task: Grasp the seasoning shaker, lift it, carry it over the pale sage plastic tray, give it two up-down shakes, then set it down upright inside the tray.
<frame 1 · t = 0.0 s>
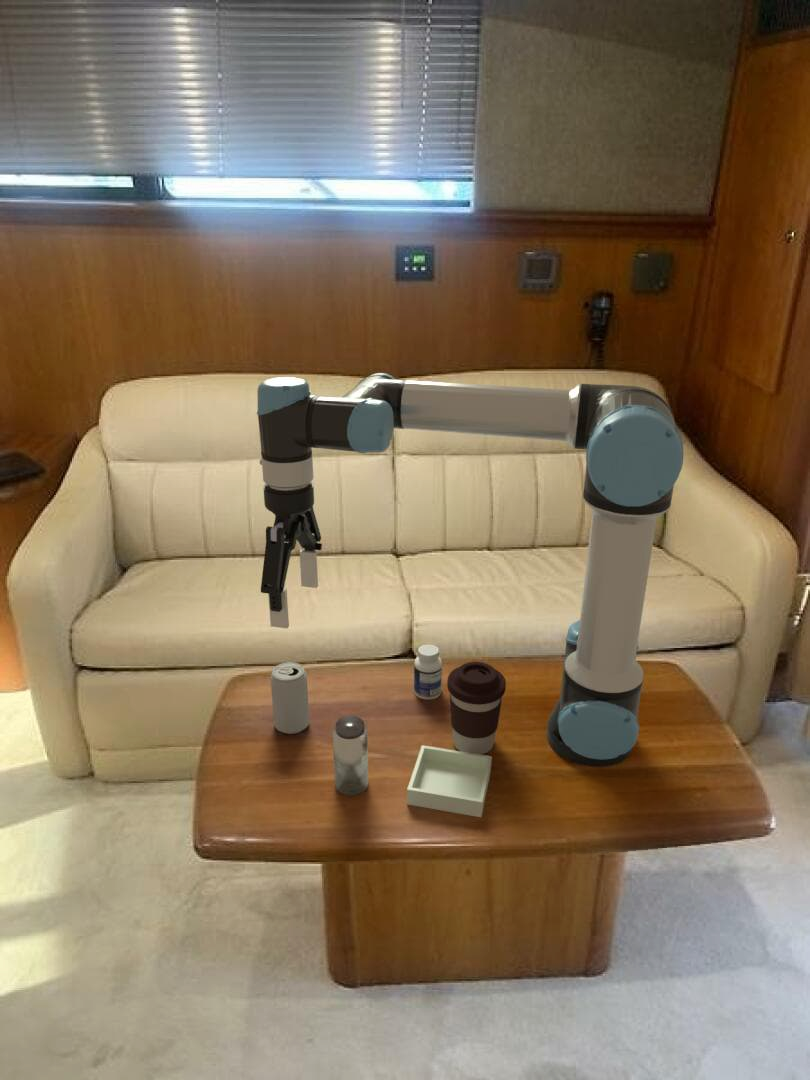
hand: (295, 605, 127), 28 cm above the table, fingers open, 13 cm apart
shaker: (351, 783, 130), on the table
coffee cup: (473, 743, 140), on the table
beverage can: (292, 726, 144), on the table
pill bottle: (427, 693, 153), on the table
tray: (450, 787, 129), on the table
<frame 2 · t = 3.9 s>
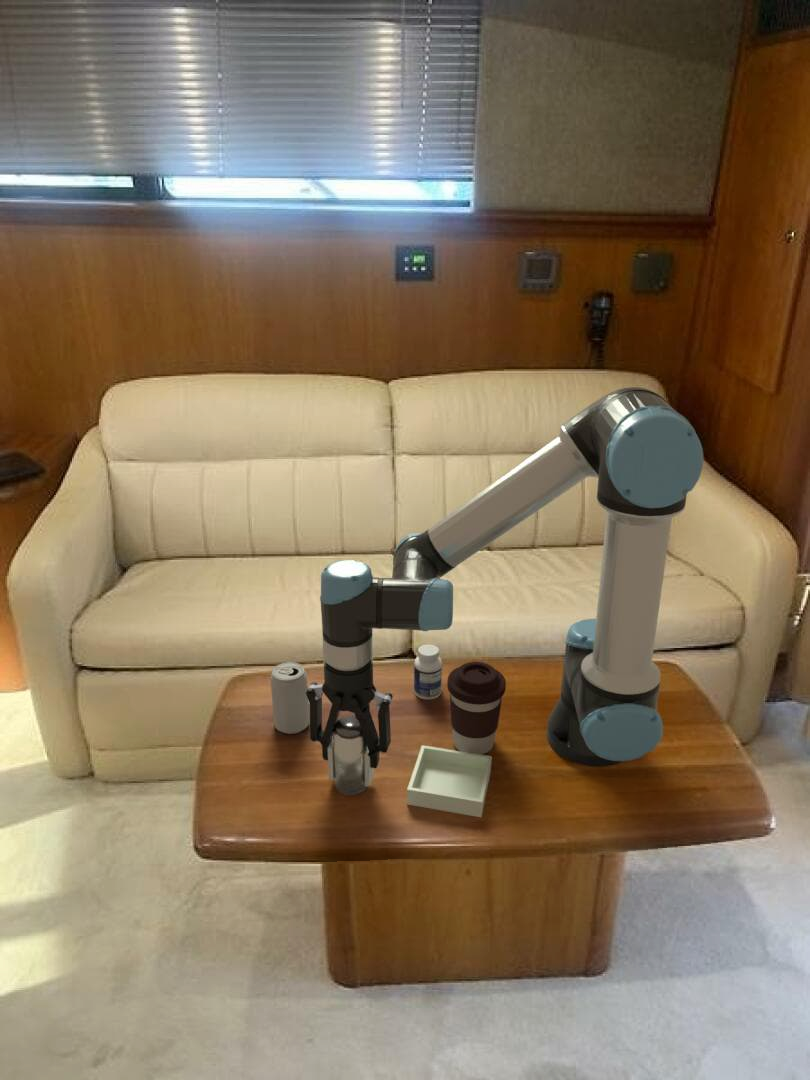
hand: (351, 777, 129), 1 cm above the table, fingers closed on shaker, 5 cm apart
shaker: (351, 783, 130), on the table, touching gripper
everything else where it was.
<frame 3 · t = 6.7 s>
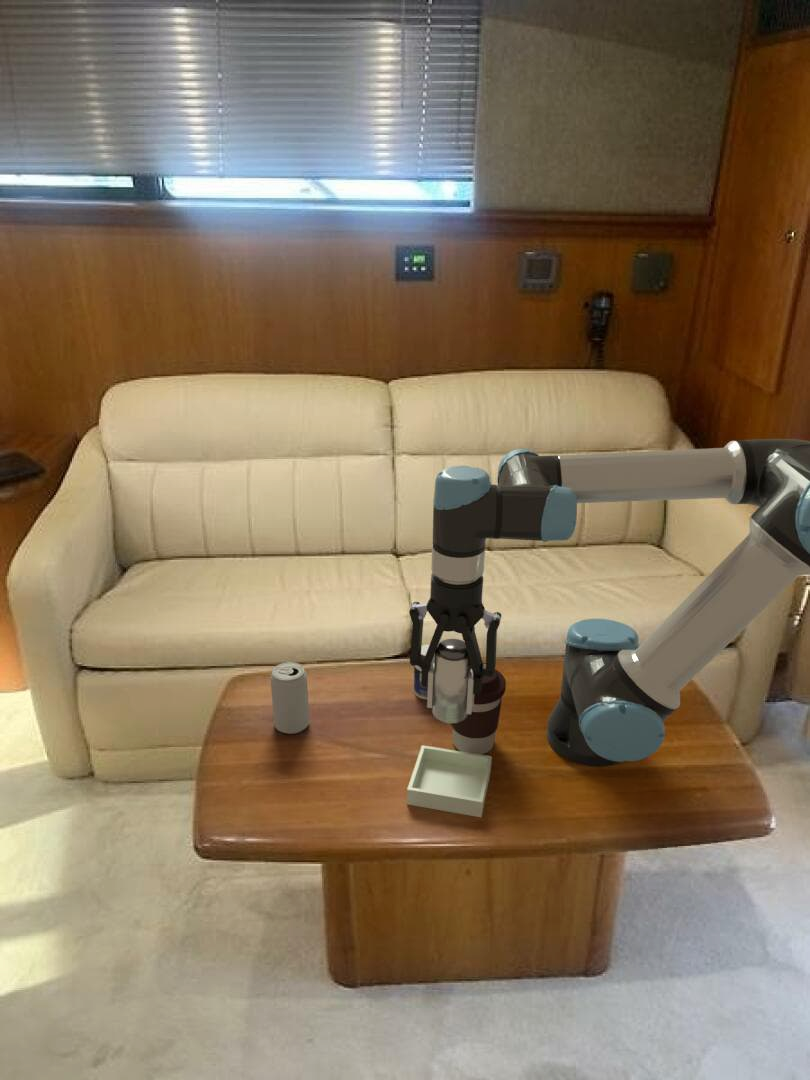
hand: (450, 705, 123), 16 cm above the table, fingers closed on shaker, 5 cm apart
shaker: (450, 712, 123), point 15 cm above the table, touching gripper
everything else where it was.
when the fingers open (3 cm above the table, at t = 9.8 s): shaker stays where it is, resting on tray.
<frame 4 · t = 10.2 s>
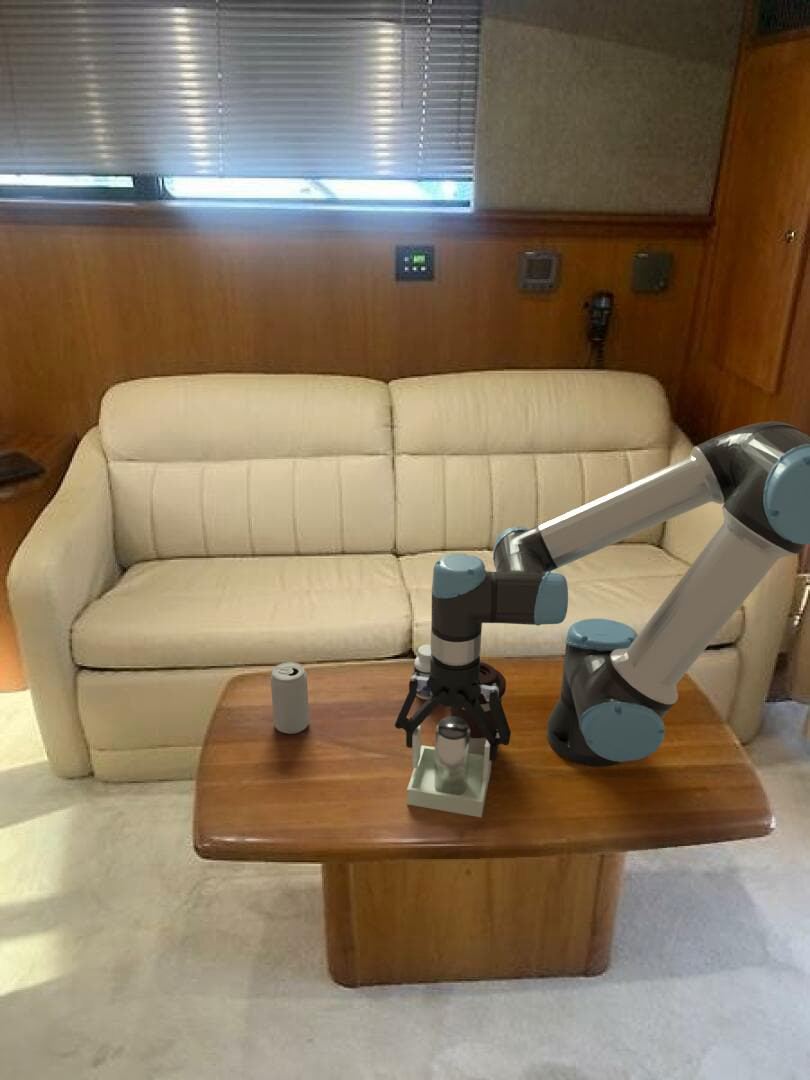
hand: (450, 768, 128), 4 cm above the table, fingers open, 11 cm apart
shaker: (450, 784, 129), point 1 cm above the table, touching tray
everything else where it was.
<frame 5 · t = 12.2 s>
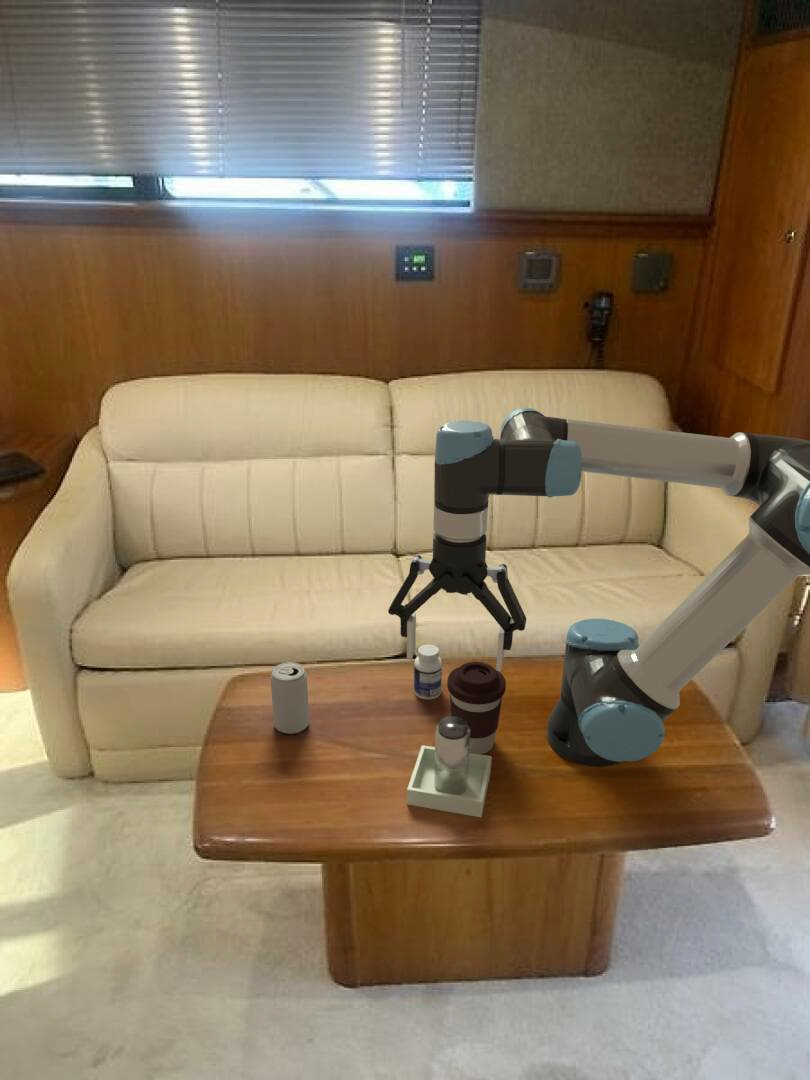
hand: (454, 660, 119), 25 cm above the table, fingers open, 13 cm apart
nothing on the table moved.
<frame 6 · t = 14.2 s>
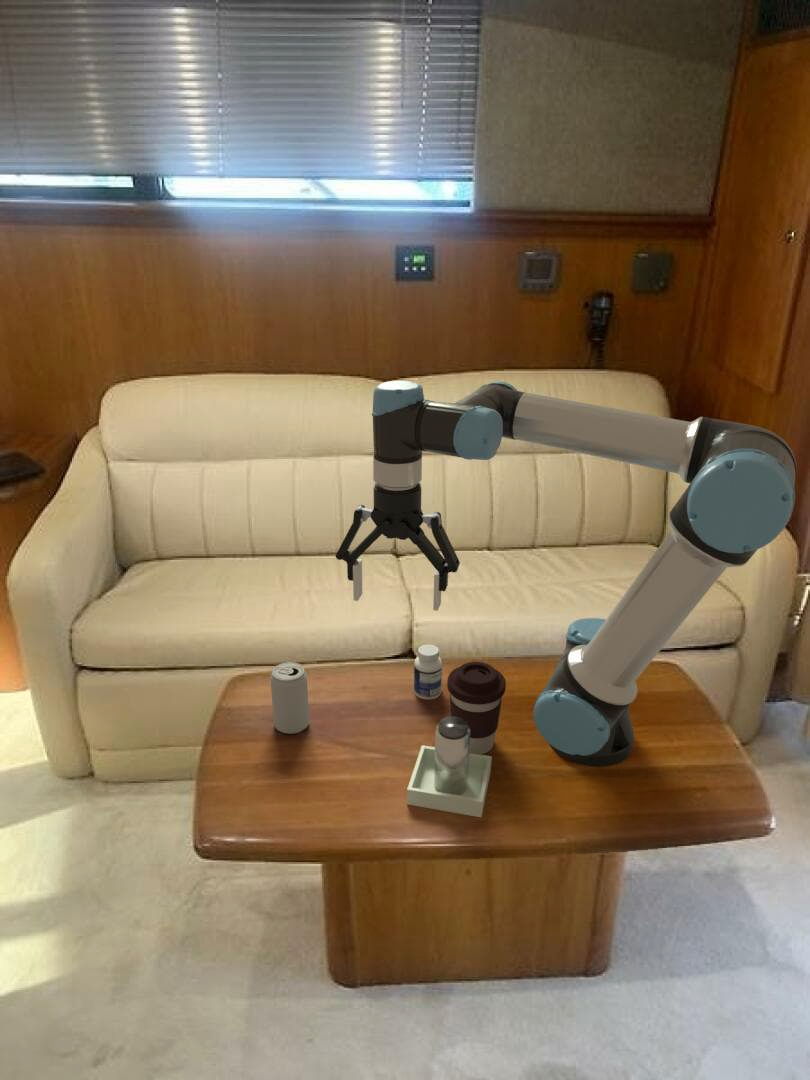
hand: (397, 601, 131), 27 cm above the table, fingers open, 13 cm apart
nothing on the table moved.
at the end: shaker inside the target area on the tray (0.1 cm from its centre), point 0.6 cm above the tray's base; shaker tilted 0°; the gripper is holding nothing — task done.
